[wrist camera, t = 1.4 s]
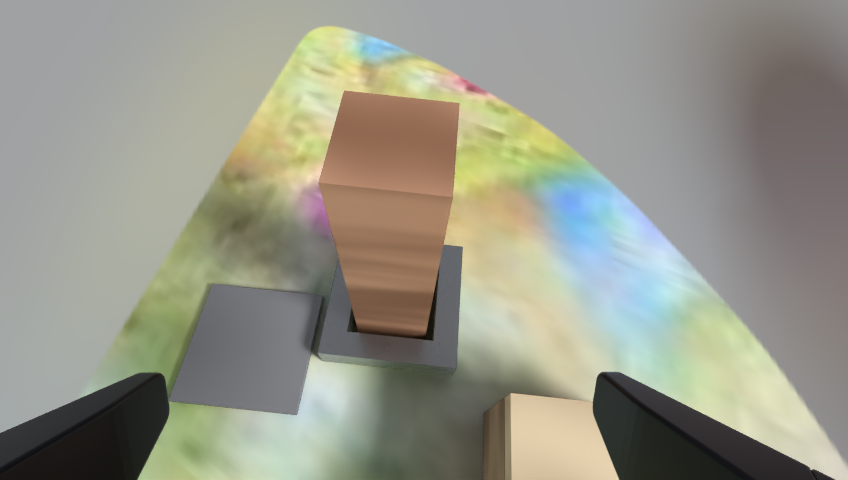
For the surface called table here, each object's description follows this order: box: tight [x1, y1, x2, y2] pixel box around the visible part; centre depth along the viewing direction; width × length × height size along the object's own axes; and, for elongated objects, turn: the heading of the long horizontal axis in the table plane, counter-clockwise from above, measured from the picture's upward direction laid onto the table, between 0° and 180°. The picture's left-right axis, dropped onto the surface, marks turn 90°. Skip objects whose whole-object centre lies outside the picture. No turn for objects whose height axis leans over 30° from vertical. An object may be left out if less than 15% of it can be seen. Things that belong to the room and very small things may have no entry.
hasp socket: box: [318, 245, 463, 375], centre depth 22 cm, size 7×7×2 cm
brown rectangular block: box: [319, 91, 459, 340], centre depth 17 cm, size 4×4×13 cm
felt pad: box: [169, 284, 324, 415], centre depth 21 cm, size 6×6×1 cm
